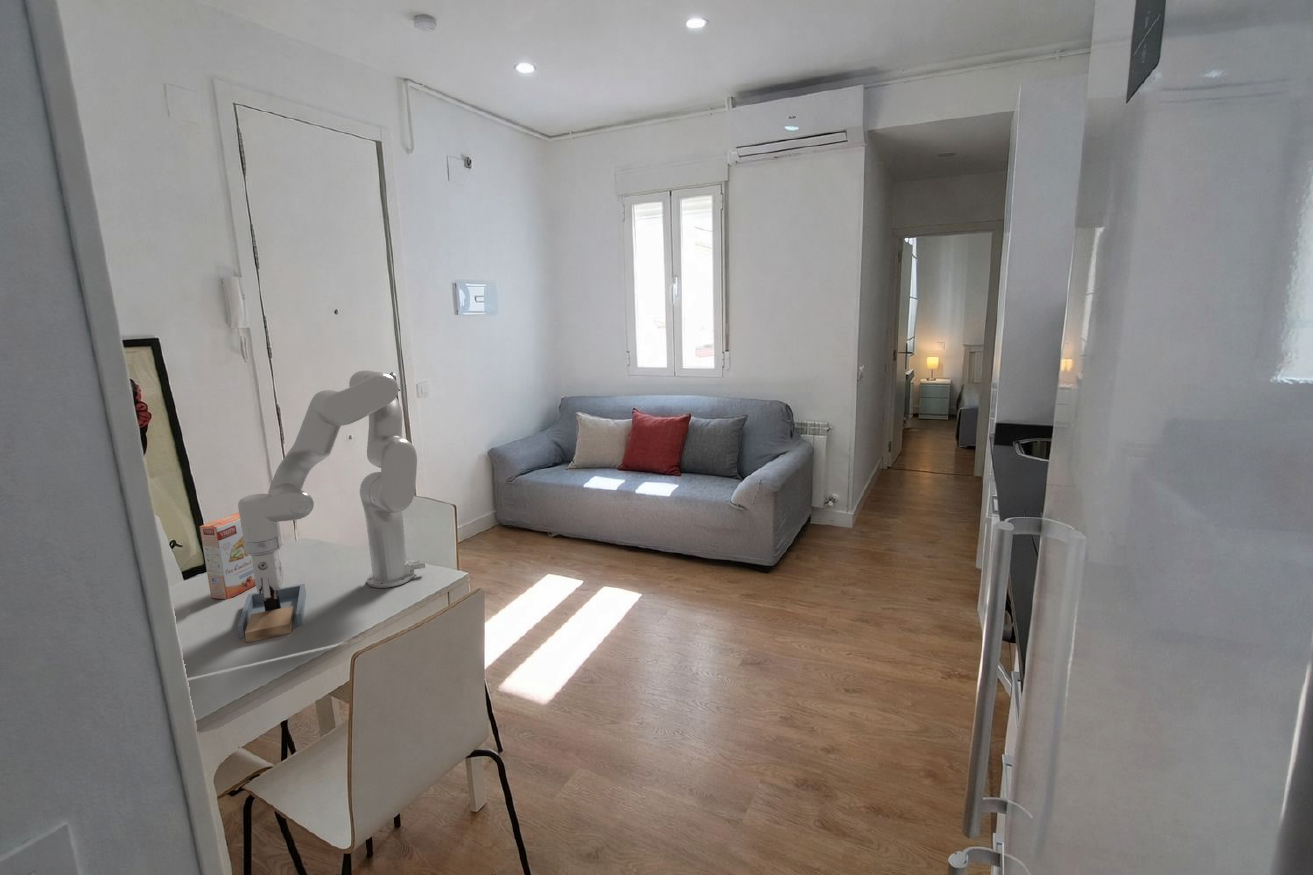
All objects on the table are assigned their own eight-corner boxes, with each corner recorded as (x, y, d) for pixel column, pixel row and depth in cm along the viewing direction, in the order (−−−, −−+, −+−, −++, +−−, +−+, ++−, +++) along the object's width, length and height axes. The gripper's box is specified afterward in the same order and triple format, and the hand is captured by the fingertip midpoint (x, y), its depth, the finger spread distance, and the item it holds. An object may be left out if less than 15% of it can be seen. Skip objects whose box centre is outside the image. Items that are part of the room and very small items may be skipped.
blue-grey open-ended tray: (306, 595, 167) (304, 583, 166) (302, 626, 150) (300, 613, 149) (250, 606, 161) (248, 594, 160) (239, 639, 144) (237, 626, 144)
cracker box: (229, 600, 164) (216, 527, 160) (210, 599, 165) (197, 526, 161) (271, 578, 178) (260, 510, 173) (253, 577, 179) (242, 509, 175)
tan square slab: (294, 614, 155) (293, 605, 154) (290, 633, 146) (289, 623, 145) (252, 623, 151) (251, 614, 150) (246, 642, 142) (244, 632, 142)
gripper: (277, 551, 145) (288, 622, 149) (283, 532, 158) (293, 597, 162) (240, 557, 142) (251, 629, 146) (249, 537, 155) (260, 603, 159)
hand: (273, 612), depth 154 cm, fingers closed
